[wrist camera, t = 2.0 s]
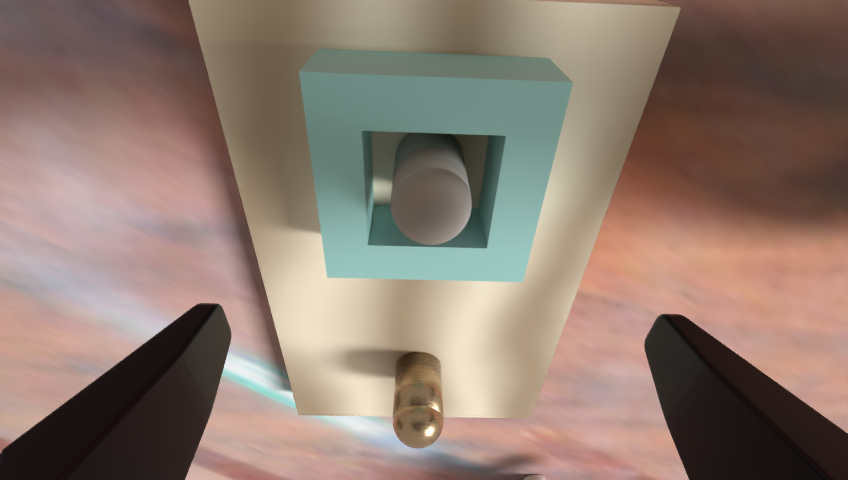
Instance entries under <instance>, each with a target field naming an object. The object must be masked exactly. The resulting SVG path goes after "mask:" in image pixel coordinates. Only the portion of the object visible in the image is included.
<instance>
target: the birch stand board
mask: <svg viewBox="0 0 848 480" xmlns="http://www.w3.org/2000/svg"><path fill="white" fill-rule="evenodd" d="M188 1H189V5H190V8H191V12H192V16H193V20H194V24H195V27H196V31H197V35H198V39H199V42H200V46H201V50H202V54H203V57H204V61H205V65H206V69H207V72H208V76H209V80H210V84H211V87H212V91H213V95H214V99H215V102H216V106H217V110H218V114H219V117H220V121H221V125H222V129H223V133H224V136H225V140H226V144H227V148H228V151H229V155H230V159H231V163H232V166H233V170H234V174H235V178H236V181H237V185H238V189H239V193H240V196H241V200H242V204H243V208H244V211H245V215H246V219H247V223H248V227H249V230H250V234H251V238H252V242H253V245H254V249H255V253H256V257H257V260H258V264H259V268H260V272H261V275H262V279H263V283H264V287H265V290H266V294H267V298H268V302H269V305H270V309H271V313H272V317H273V320H274V324H275V328H276V332H277V336H278V339H279V343H280V347H281V351H282V354H283V358H284V362H285V366H286V369H287V373H288V377H289V381H290V384H291V388H292V392H293V396H294V399H295V403H296V407H297V411H298V414H299V415H326V416H393V405H394V386H395V368H396V362H397V360H398V359H399V358H400V357H401V356H403V355H405V354H407V353H411V352H426V353H429V354H432V355H434V356H435V357H437V358H438V359H439V361H440V363H441V378H442V398H443V417H482V418H531V415H532V413H533V410H534V407H535V404H536V402H537V399H538V396H539V394H540V391H541V388H542V385H543V383H544V380H545V377H546V374H547V372H548V369H549V366H550V364H551V361H552V358H553V355H554V353H555V350H556V347H557V345H558V342H559V339H560V336H561V334H562V331H563V328H564V325H565V323H566V320H567V317H568V315H569V312H570V309H571V306H572V304H573V301H574V298H575V296H576V293H577V290H578V287H579V285H580V282H581V279H582V276H583V274H584V271H585V268H586V266H587V263H588V260H589V257H590V255H591V252H592V249H593V247H594V244H595V241H596V238H597V236H598V233H599V230H600V228H601V225H602V222H603V219H604V217H605V214H606V211H607V208H608V206H609V203H610V200H611V198H612V195H613V192H614V189H615V187H616V184H617V181H618V179H619V176H620V173H621V170H622V168H623V165H624V162H625V159H626V157H627V154H628V151H629V149H630V146H631V143H632V140H633V138H634V135H635V132H636V130H637V127H638V124H639V121H640V119H641V116H642V113H643V110H644V108H645V105H646V102H647V100H648V97H649V94H650V91H651V89H652V86H653V83H654V81H655V78H656V75H657V72H658V70H659V67H660V64H661V61H662V59H663V56H664V53H665V51H666V48H667V45H668V42H669V40H670V37H671V34H672V32H673V29H674V26H675V23H676V21H677V18H678V15H679V13H680V10H681V7H679V6H675V5H672V4H669V3H665V2H662V1H659V0H188ZM318 49H341V50H366V51H390V52H415V53H439V54H463V55H488V56H512V57H536V58H549V59H550V60H551V61H552V62H553V63H554V64H555V65H556V66H557V67H558V68H559V69H560V70H561V71H562V72H563V73H564V74H565V75H566V76H567V77H568V78H569V79H570V80H571V81H572V82H573V86H572V89H571V93H570V97H569V101H568V105H567V109H566V113H565V117H564V121H563V125H562V129H561V133H560V137H559V141H558V145H557V149H556V153H555V157H554V161H553V165H552V169H551V173H550V177H549V181H548V185H547V189H546V192H545V196H544V200H543V204H542V208H541V212H540V216H539V220H538V224H537V228H536V232H535V236H534V240H533V244H532V248H531V252H530V256H529V260H528V264H527V268H526V272H525V276H524V280H523V282H493V281H451V280H408V279H365V278H327V273H326V265H325V258H324V251H323V244H322V236H321V229H320V222H319V214H318V207H317V200H316V193H315V185H314V178H313V171H312V163H311V156H310V149H309V142H308V134H307V127H306V120H305V112H304V105H303V98H302V90H301V83H300V76H299V71H300V70H301V69H302V67H303V66H304V65H305V64H306V63H307V61H308V60H309V59H310V58H311V57H312V55H313V54H314V53H315V52H316V51H317V50H318ZM488 138H489V135H470V134H442V133H413V132H384V131H372V157H373V183H374V205H385V206H391V213H392V217H393V219H394V222H395V223H396V225H397V227H398V228H399V230H400V231H401V232H402V233H403V234H404V235H405V236H407V237H408V238H409V239H411V240H413V241H415V242H418V243H421V244H427V245H435V244H441V243H444V242H447V241H449V240H451V239H453V238H454V237H456V236H457V235H458V234H459V233H460V232H461V231H462V230H463V228H464V227H465V226H466V224H467V222H468V220H469V217H470V214H471V209H472V208H479V201H480V194H481V187H482V180H483V173H484V166H485V159H486V152H487V145H488Z"/></svg>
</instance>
